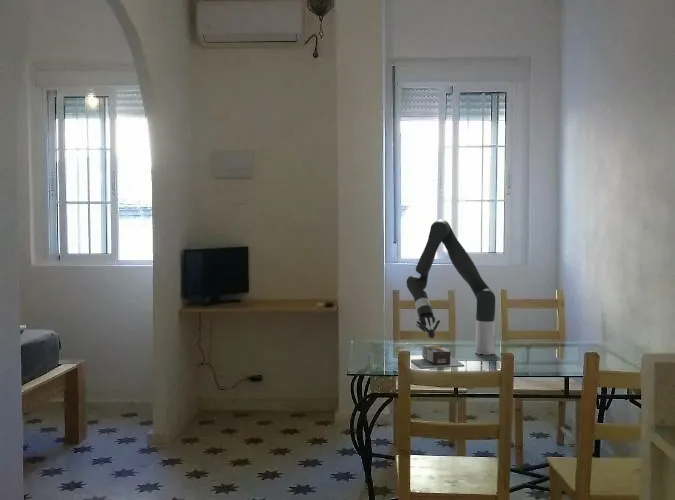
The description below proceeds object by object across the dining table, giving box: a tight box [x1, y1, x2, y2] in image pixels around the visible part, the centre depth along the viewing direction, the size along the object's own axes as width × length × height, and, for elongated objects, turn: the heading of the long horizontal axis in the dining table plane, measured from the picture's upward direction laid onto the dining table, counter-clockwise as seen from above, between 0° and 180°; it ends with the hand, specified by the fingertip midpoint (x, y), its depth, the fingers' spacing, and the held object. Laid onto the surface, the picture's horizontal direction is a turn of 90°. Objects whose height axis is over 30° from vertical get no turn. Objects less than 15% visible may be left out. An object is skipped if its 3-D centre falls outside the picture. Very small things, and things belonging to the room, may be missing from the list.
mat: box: [410, 356, 465, 370], centre depth 374 cm, size 22×16×1 cm
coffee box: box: [421, 344, 451, 365], centre depth 376 cm, size 9×6×16 cm
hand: (432, 337), depth 382 cm, fingers closed
